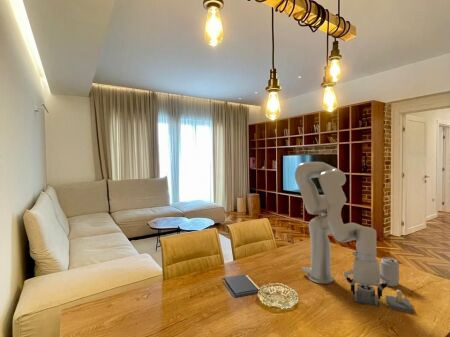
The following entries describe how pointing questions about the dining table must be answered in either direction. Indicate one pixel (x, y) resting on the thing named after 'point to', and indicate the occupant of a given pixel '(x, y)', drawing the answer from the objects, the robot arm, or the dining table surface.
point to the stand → (357, 300)
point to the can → (390, 271)
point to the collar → (366, 293)
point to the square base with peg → (399, 302)
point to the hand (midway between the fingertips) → (365, 295)
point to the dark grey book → (241, 285)
